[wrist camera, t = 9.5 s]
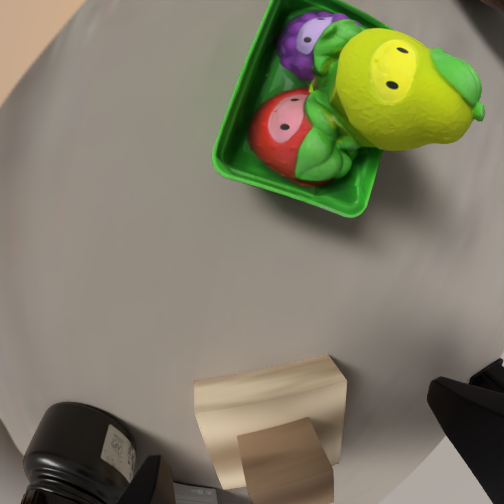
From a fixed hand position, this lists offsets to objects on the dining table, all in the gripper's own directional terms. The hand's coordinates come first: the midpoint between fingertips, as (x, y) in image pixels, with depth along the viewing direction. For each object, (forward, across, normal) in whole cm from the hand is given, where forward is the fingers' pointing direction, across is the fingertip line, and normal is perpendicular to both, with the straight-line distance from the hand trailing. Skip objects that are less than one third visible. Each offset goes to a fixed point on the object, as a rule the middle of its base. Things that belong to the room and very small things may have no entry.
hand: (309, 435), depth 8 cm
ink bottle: (+12, +16, +11) cm, 23 cm away
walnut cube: (+8, 0, +11) cm, 14 cm away
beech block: (+12, 0, +11) cm, 17 cm away
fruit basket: (+12, -5, -11) cm, 17 cm away
